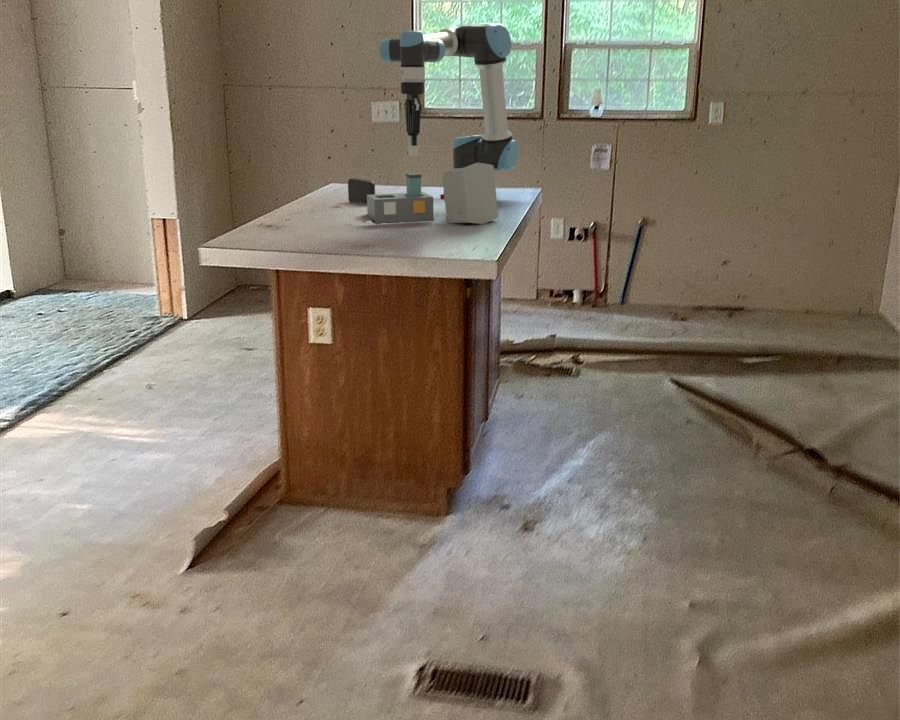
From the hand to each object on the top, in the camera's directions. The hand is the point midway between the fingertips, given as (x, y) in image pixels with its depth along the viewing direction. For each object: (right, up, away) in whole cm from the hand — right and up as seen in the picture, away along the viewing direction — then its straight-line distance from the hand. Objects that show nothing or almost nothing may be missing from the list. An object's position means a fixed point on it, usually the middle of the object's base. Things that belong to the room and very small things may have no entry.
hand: (413, 155), depth 297 cm
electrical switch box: (+18, -22, +3) cm, 28 cm away
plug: (0, -19, +7) cm, 20 cm away
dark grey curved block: (-21, -11, +36) cm, 43 cm away
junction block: (-5, -20, +5) cm, 22 cm away
